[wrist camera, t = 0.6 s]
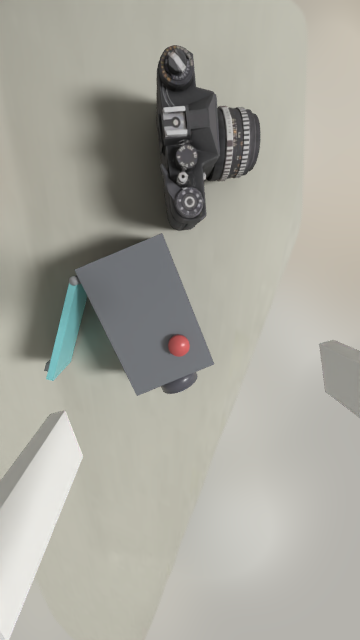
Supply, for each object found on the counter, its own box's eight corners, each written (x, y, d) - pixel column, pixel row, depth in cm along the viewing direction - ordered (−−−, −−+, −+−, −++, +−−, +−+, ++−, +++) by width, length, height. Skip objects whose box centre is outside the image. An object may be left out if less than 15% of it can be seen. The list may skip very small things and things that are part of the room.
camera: (246, 223, 34) (281, 206, 24) (165, 233, 33) (168, 221, 24) (237, 99, 31) (273, 23, 21) (148, 109, 30) (143, 36, 20)
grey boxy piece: (90, 269, 33) (69, 270, 26) (161, 239, 33) (162, 232, 26) (146, 386, 38) (143, 417, 30) (210, 360, 37) (223, 384, 30)
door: (78, 271, 33) (61, 272, 27) (93, 275, 33) (79, 278, 27) (57, 358, 35) (37, 376, 29) (71, 361, 35) (53, 381, 30)
